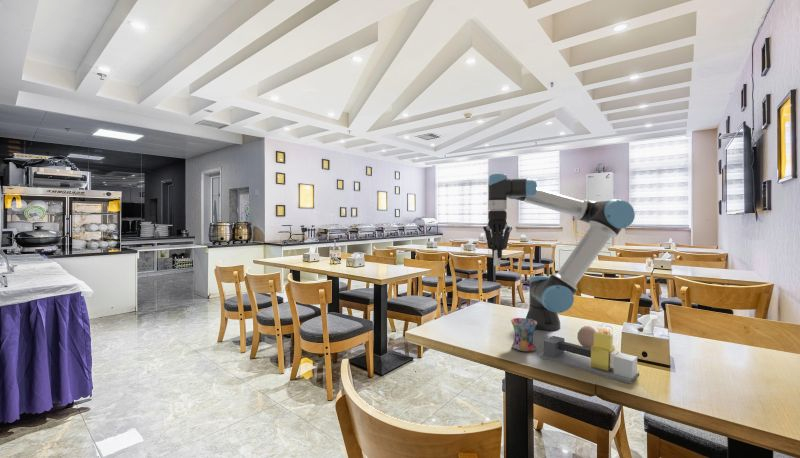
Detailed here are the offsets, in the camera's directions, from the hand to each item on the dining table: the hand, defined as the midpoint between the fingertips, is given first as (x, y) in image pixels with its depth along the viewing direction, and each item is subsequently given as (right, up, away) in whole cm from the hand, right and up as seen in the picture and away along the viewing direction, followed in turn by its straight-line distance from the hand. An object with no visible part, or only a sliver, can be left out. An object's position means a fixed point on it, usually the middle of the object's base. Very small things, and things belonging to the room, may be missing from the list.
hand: (497, 265), depth 153 cm
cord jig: (+21, -30, -33) cm, 49 cm away
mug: (+6, -30, -16) cm, 35 cm away
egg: (+30, -30, -16) cm, 46 cm away
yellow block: (+25, -29, -36) cm, 53 cm away
